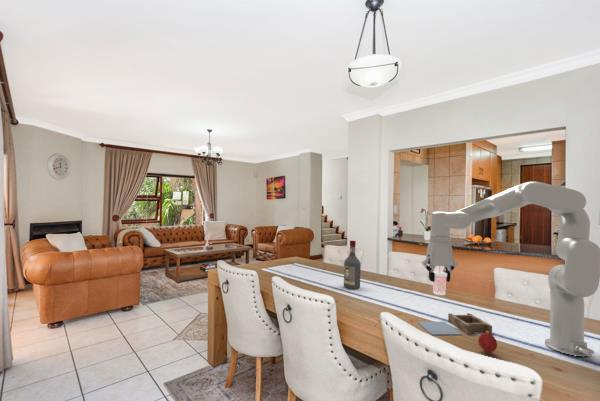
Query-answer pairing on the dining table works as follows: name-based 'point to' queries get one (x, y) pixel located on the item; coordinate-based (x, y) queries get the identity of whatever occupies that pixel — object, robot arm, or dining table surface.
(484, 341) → the onion
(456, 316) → the wooden crate
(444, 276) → the beverage cup
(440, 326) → the mat
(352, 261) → the liquor
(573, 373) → the dining table surface
